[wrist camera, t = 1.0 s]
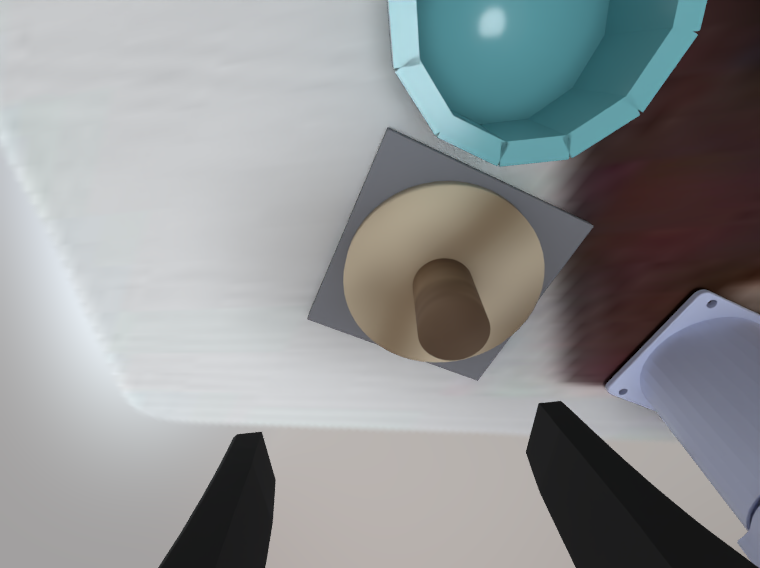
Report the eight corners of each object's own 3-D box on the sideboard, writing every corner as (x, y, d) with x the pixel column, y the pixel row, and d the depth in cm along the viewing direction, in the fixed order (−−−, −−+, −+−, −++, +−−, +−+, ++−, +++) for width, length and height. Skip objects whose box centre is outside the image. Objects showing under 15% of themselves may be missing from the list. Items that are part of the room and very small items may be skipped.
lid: (578, 230, 20) (633, 279, 15) (474, 372, 24) (494, 441, 20) (393, 144, 18) (394, 171, 13) (318, 315, 22) (301, 377, 18)
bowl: (674, -57, 15) (797, -107, 10) (532, 171, 19) (577, 204, 14) (458, -201, 13) (495, -334, 9) (354, 84, 17) (343, 92, 13)
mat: (589, 222, 20) (593, 226, 19) (476, 375, 25) (477, 380, 24) (388, 127, 18) (388, 129, 17) (308, 314, 23) (307, 319, 22)
